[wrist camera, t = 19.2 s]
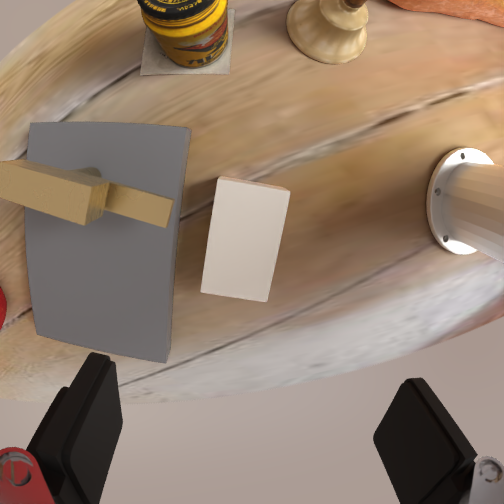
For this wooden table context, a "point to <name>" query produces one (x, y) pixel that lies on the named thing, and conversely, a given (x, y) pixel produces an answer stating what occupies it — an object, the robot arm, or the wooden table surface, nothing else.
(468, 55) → the wooden table surface
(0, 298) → the apple
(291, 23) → the hand bell
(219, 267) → the white rectangular block
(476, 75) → the wooden table surface
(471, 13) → the bread
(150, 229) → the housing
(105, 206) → the key
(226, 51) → the condiment
